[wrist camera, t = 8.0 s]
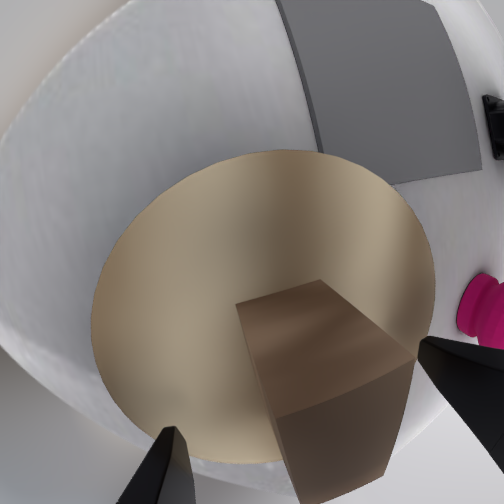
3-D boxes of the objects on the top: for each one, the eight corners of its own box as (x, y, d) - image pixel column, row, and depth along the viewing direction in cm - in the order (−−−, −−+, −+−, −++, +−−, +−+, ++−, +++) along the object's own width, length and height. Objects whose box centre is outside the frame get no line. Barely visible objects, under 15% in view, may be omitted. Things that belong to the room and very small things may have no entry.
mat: (430, 8, 12) (433, 6, 12) (477, 169, 17) (482, 170, 16) (264, -28, 10) (266, -33, 10) (327, 195, 15) (332, 196, 14)
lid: (414, 135, 10) (526, 128, 4) (410, 393, 14) (461, 446, 8) (44, 218, 8) (-74, 260, 2) (179, 471, 12) (186, 551, 6)
